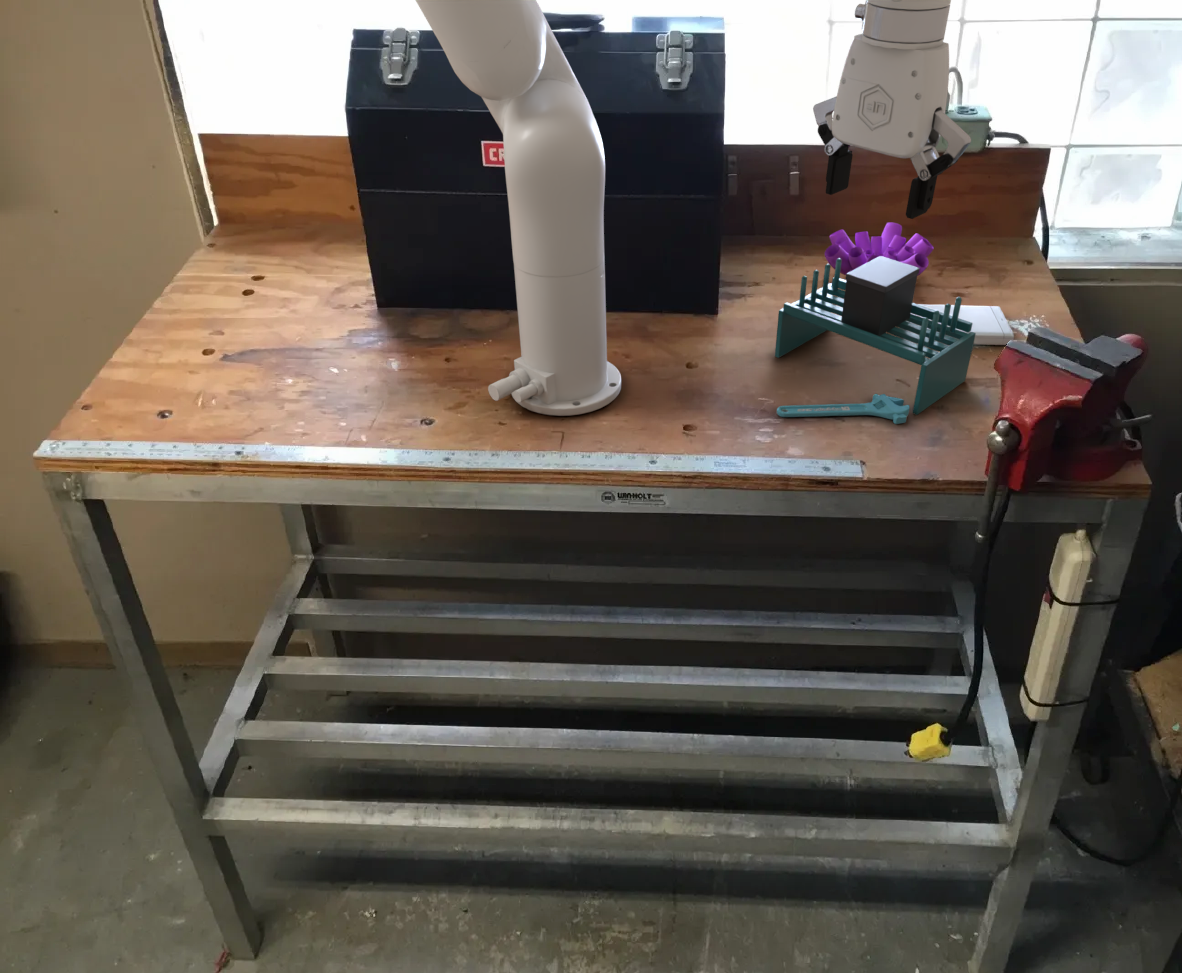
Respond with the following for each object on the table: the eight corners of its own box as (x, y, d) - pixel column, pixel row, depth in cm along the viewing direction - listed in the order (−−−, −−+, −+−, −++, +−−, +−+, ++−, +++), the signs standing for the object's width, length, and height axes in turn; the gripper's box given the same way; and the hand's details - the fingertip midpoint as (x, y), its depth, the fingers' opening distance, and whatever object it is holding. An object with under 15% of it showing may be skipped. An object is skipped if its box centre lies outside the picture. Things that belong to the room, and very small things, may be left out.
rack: (917, 415, 105) (933, 328, 99) (774, 356, 117) (781, 275, 110) (965, 380, 111) (983, 297, 105) (824, 327, 122) (834, 249, 116)
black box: (878, 338, 107) (886, 286, 103) (839, 323, 110) (845, 273, 106) (911, 318, 110) (920, 267, 107) (872, 304, 113) (880, 255, 110)
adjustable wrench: (903, 391, 107) (915, 415, 103) (901, 399, 108) (913, 423, 104) (774, 394, 107) (781, 419, 103) (773, 402, 108) (780, 426, 104)
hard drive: (906, 332, 117) (1015, 334, 116) (896, 302, 124) (999, 303, 122) (904, 344, 118) (1012, 346, 117) (894, 314, 124) (996, 315, 123)
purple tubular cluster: (925, 299, 135) (958, 263, 126) (823, 313, 132) (849, 277, 123) (901, 227, 138) (932, 187, 129) (801, 240, 135) (825, 200, 126)
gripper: (805, 17, 95) (786, 191, 106) (968, 45, 85) (929, 235, 95) (850, 6, 100) (827, 174, 110) (1010, 31, 89) (969, 215, 99)
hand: (875, 202), depth 102 cm, fingers open, 9 cm apart
